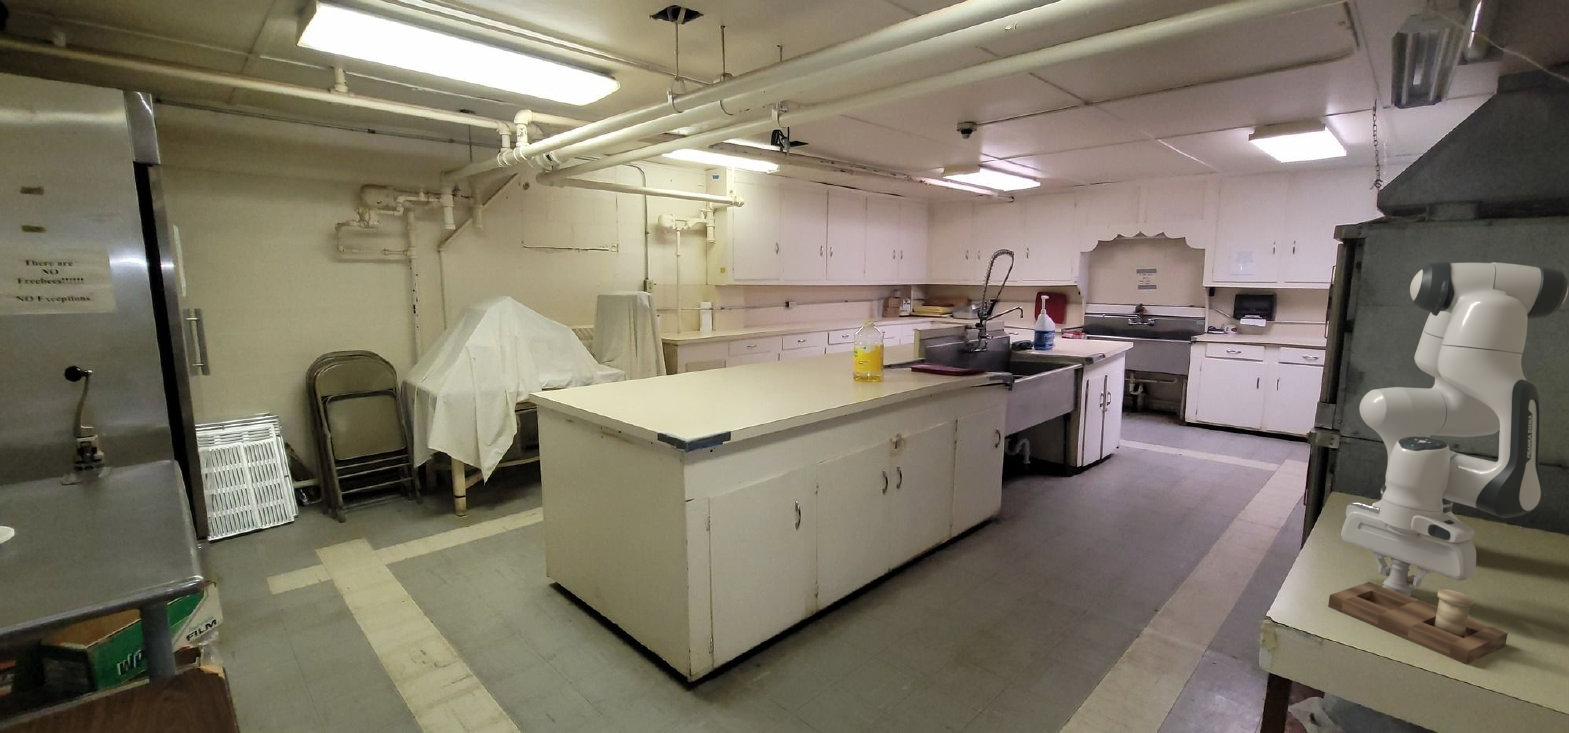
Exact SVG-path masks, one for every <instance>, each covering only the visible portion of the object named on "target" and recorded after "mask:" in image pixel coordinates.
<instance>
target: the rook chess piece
mask: <svg viewBox="0 0 1569 733" xmlns="http://www.w3.org/2000/svg"><path fill="white" fill-rule="evenodd" d="M1390 560H1391V561H1392V564H1390V567H1392V570H1391V573H1390V576H1387V578H1386V580H1384V581H1383V585H1381V586H1382V587H1385V588H1388V589H1390V590H1393V591H1396V592H1399V593H1401V594H1404V595H1407V596H1409V597H1412V591H1413V589H1412V587H1411V585H1409V584H1407V581H1408V576H1409V572H1410V571H1411V569H1410V566H1412V565H1411V564H1408V563H1406V562H1403V561H1400V560H1397V559H1394V558H1391V557H1390Z"/></svg>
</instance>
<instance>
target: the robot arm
mask: <svg viewBox="0 0 1569 733" xmlns="http://www.w3.org/2000/svg"><path fill="white" fill-rule="evenodd" d="M1568 280H1569V279H1568V276H1566V274H1565V273H1564V272H1563V271H1562V270H1560V269H1556V268H1552V267H1549V266H1544V265H1543V266H1542V265H1538V266H1531V265H1524V264H1518V263H1517V264H1516V263H1506V262H1495V261H1494V262H1449V261H1438V262H1431V263H1426V264H1425V265H1424V266H1422V267H1421V268H1419V271H1418V272H1417V273H1416V274H1415V275H1414V276H1413V278H1412V280H1411V283H1410V285H1409V294H1410V297H1411V303H1413V304H1414V305H1415V306H1416V307H1417V308H1419V309H1422V310H1424V311H1427V312H1429V315H1428V317H1427V319H1426V321H1425V323H1424V324H1425V325H1424V326H1423V330H1422V333H1421V335H1420V338H1419V342H1418V345H1417V347H1416V351H1415V354H1414V356H1413V357H1414V363H1415V365H1416V366H1417V367H1418V368H1419V370H1421V371H1422V372H1424V373H1425V374H1428V375H1429V376H1431V377H1433V378H1434V384H1433V386H1432V387H1431V388H1425V387H1424V388H1423V387H1407V386H1406V387H1404V386H1403V387H1402V386H1393V387H1391V386H1390V387H1386V388H1385V387H1383V388H1376V389H1371V390H1369V391H1368V392H1367V393H1365V394H1364V396H1363V397H1362V398H1361V400H1360V403H1359V408H1358V409H1359V410H1358V411H1359V415H1360V417H1361V419H1362V421H1363V422H1364V423H1365V424H1366V426H1368V427H1369V428H1371V429H1373V431H1374V432H1375V433H1377V434H1378V436H1380V438H1381V440H1382V441H1383V444H1384V445H1385V448H1386V452H1387V467H1386V471H1385V482H1384V483H1383V484H1382V487H1381V488H1380V500H1378V501H1376V502H1374V503H1372V505H1370V504H1365V503H1364V502H1361V501H1356V502H1351V503H1349V504H1348V505H1347V506H1346V509H1345V516H1346V518H1345V520H1344V522H1343V526H1342V529H1341V534H1340V537H1341V539H1342V540H1343V542H1345V543H1346V544H1347V543H1348V544H1350V545H1353V546H1355V547H1356V546H1357V547H1359V548H1361V549H1366V550H1368V551H1372V552H1373V554H1372V557H1373V559H1374V561H1375V563H1376V565H1377V567H1378V568H1377V573H1378V575H1382V576H1384V577H1389V576H1390V573H1391V571H1392V566H1390V565H1388V564H1387V562H1386V559H1385V558H1390V559H1391V558H1394V559H1397V560H1400V561H1403V562H1406V563H1408V564H1411V565H1410V566H1415V567H1416V572H1418V574H1416V575H1414V574H1411V575H1408V581H1407V584H1409V585H1410V587H1411V586H1412V587H1415V588H1419V587H1421V585H1422V580H1423V579H1424V578H1426V577H1427V576H1428V575H1430V574H1431V573H1436V574H1438V575H1440V576H1444V577H1446V578H1450V579H1452V580H1455V581H1458V582H1459V581H1460V582H1461V581H1466V580H1469V579H1471V578H1472V577H1474V575H1475V574H1476V569H1477V568H1476V567H1477V549H1476V547H1475V545H1474V543H1473V542H1472V541H1470V540H1471V539H1472V538H1474V537H1475V533H1476V532H1475V529H1474V528H1472V527H1470V526H1469V525H1467V524H1465V523H1463V522H1462V521H1460V519H1458V518H1457V516H1456V515H1455V514H1454V513H1453V512H1452V511H1453V504H1454V503H1457V504H1461V505H1464V506H1468V507H1471V508H1475V509H1478V510H1479V511H1482V512H1484V513H1488V514H1489V515H1490V514H1491V515H1493V516H1496V517H1498V518H1502V519H1508V518H1514V517H1515V518H1516V517H1520V516H1523V515H1526V514H1528V513H1530V512H1533V511H1534V510H1536V508H1537V507H1538V506H1539V504H1540V502H1541V500H1542V493H1543V492H1542V489H1543V488H1542V482H1541V475H1540V470H1539V462H1540V461H1539V459H1540V458H1539V455H1540V451H1539V450H1540V424H1541V423H1540V422H1541V421H1540V419H1541V418H1540V417H1541V410H1540V406H1541V405H1540V397H1539V393H1538V389H1537V387H1536V385H1535V384H1533V383H1531V382H1529V381H1528V380H1527V379H1526V376H1525V374H1524V372H1523V367H1522V356H1523V353H1524V350H1525V345H1526V340H1527V334H1528V321H1529V320H1531V319H1542V318H1546V317H1548V316H1550V315H1553V314H1556V313H1557V311H1559V309H1560V308H1561V306H1562V305H1563V304H1564V302H1565V301H1566V299H1567V297H1568V295H1569V281H1568ZM1497 432H1499V434H1498V435H1499V439H1498V440H1499V441H1498V459H1497V461H1493V460H1488V459H1483V458H1479V457H1473V456H1471V455H1466V454H1463V453H1459V452H1456V451H1453V450H1451V449H1450V446H1449V444H1448V443H1447V442H1445V441H1444V440H1442V439H1438V438H1436V437H1435V438H1434V437H1431V436H1443V437H1453V438H1454V437H1455V438H1456V437H1457V438H1471V437H1482V436H1491V435H1494V434H1496V433H1497Z"/></svg>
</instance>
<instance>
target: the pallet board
mask: <svg viewBox="0 0 1569 733" xmlns="http://www.w3.org/2000/svg"><path fill="white" fill-rule="evenodd" d="M1382 586H1383V585H1379V584H1376V583H1374V582H1371V581H1367V582H1365V583H1362V584H1359V585H1354V586H1353V587H1349V588H1347V589H1346V588H1345V589H1343V590H1340V591H1338V592H1334V593H1332V594H1331V593H1330V595H1329V597H1328V599H1329V600H1328V606H1327V607H1328V608H1331V609H1333V610H1336V611H1337V612H1340V613H1343V614H1345V615H1348V616H1350V617H1352V618H1355V619H1357V620H1359V621H1361V622H1364V623H1366V624H1369V625H1370V626H1371V625H1372V626H1373V627H1376V628H1378V629H1381V630H1383V631H1386V632H1388V633H1391V634H1393V635H1396V636H1398V637H1399V638H1403V639H1405V640H1407V641H1410V642H1412V643H1414V644H1416V645H1419V646H1422V647H1424V648H1426V649H1429V650H1431V651H1434V652H1436V653H1439V654H1441V655H1443V656H1446V657H1447V658H1450V659H1453V660H1455V661H1458V662H1460V663H1462V664H1465V665H1468V664H1470V663H1473V662H1475V661H1476V660H1478V659H1480V658H1482V657H1484V656H1485V657H1486V656H1487V655H1489V654H1491V653H1493V652H1495V651H1497V650H1500V649H1502V648H1503V647H1505V646H1506V644H1507V640H1508V639H1507V638H1508V635H1509V632H1507V631H1504V630H1502V629H1498V628H1496V627H1493V626H1491V625H1488V624H1486V623H1483V622H1480V621H1477V620H1475V619H1472V618H1469V613H1470V608H1471V607H1473V605H1474V600H1475V599H1474V598H1473V597H1471V596H1470V595H1468V594H1466V593H1463V592H1460V591H1458V590H1453V589H1448V588H1447V589H1445V588H1442V589H1438V592H1437V596H1436V597H1437V598H1438V603H1437V606H1436V605H1434V604H1431V603H1428V602H1425V601H1423V600H1420V599H1418V598H1416V597H1412V596H1407V595H1404V594H1401V593H1399V592H1396V591H1393V590H1390V589H1388V588H1385V587H1382Z"/></svg>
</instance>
